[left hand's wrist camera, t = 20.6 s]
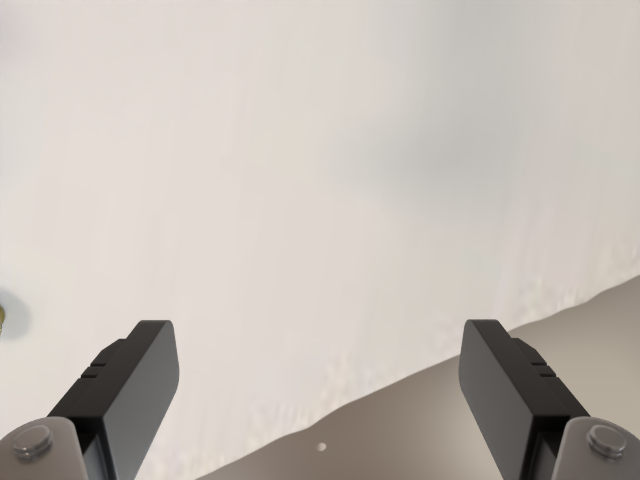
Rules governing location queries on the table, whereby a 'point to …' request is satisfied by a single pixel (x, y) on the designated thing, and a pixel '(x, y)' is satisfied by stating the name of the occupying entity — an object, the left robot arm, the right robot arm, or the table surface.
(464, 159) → the table surface
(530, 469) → the left robot arm
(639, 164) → the table surface
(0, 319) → the cup
